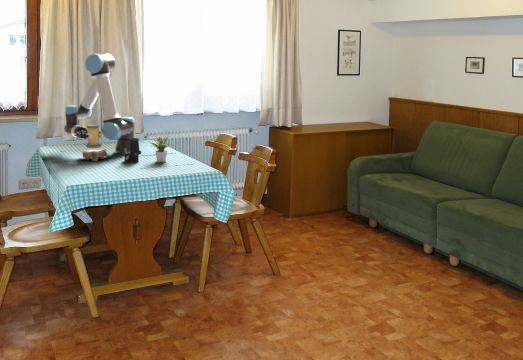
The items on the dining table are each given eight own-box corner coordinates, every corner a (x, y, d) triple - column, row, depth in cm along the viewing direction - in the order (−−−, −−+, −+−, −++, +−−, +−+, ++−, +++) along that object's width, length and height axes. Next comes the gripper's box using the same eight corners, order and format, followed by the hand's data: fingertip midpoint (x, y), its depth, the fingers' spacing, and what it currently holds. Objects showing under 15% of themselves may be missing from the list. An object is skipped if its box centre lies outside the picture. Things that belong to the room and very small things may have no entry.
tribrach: (105, 156, 404) (105, 149, 403) (107, 160, 391) (106, 152, 390) (82, 157, 400) (82, 150, 399) (83, 161, 387) (83, 154, 386)
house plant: (162, 157, 400) (161, 131, 397) (178, 160, 392) (177, 133, 389) (145, 161, 389) (144, 134, 385) (162, 163, 381) (161, 136, 378)
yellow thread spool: (100, 145, 399) (99, 124, 396) (101, 147, 391) (100, 126, 388) (85, 145, 397) (84, 124, 394) (86, 148, 388) (85, 126, 385)
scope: (123, 138, 388) (140, 137, 391) (124, 160, 391) (140, 159, 394) (124, 140, 380) (141, 139, 383) (125, 163, 383) (142, 162, 386)
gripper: (94, 136, 412) (111, 140, 396) (65, 139, 400) (82, 144, 383) (93, 124, 411) (111, 128, 394) (64, 127, 398) (82, 131, 381)
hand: (97, 136), depth 389 cm, fingers closed on yellow thread spool, 7 cm apart
